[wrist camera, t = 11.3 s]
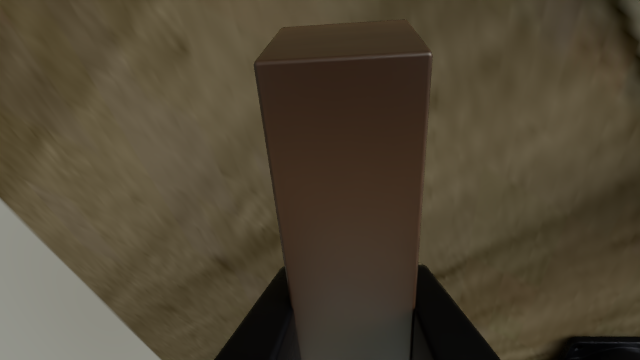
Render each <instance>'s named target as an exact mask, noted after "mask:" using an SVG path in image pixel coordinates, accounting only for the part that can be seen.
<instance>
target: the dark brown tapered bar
mask: <svg viewBox="0 0 640 360" xmlns="http://www.w3.org/2000/svg"><path fill="white" fill-rule="evenodd" d="M432 57H433V55H432V52H431V50H430V49H429V48H428V47H427V45H426V44H425V43H424V41H423V40H422V39H421V38H420V36H419V35H418V34H417V32H416V31H415V30H414V29H413V27H412V26H411V25H410V23H409V22H408V21H407V20H405V19H403V20H387V21H372V22H357V23H342V24H327V25H311V26H296V27H283V28H281V29H280V30H279V32H278V33H277V34H276V35H275V37H274V38H273V39H272V40H271V42H270V43H269V44H268V46H267V47H266V48H265V49H264V51H263V52H262V53H261V54H260V56H259V57H258V58H257V59H256V61H255V62H254V70H255V77H256V83H257V90H258V96H259V103H260V109H261V116H262V122H263V129H264V135H265V142H266V148H267V155H268V161H269V168H270V174H271V180H272V187H273V193H274V200H275V206H276V213H277V219H278V226H279V232H280V239H281V245H282V252H283V258H284V265H285V271H286V277H287V284H288V290H289V297H290V303H291V307H292V308H293V310H294V317H295V324H296V331H297V337H298V344H299V351H300V358H301V360H411V352H412V337H413V323H414V309H415V301H416V286H417V272H418V258H419V243H420V229H421V215H422V200H423V186H424V172H425V157H426V143H427V129H428V114H429V100H430V86H431V71H432Z"/></svg>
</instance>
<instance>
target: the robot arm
mask: <svg viewBox="0 0 640 360" xmlns="http://www.w3.org/2000/svg"><path fill="white" fill-rule="evenodd" d="M214 360H301V358H300V351H299V344H298V337H297V331H296V324H295V317H294V310H293V308H292V307H291V303H290V297H289V290H288V284H287V277H286V271H285V266H284V267H282V268H281V269H280V270H279V272H278V273H277V274H276V276H275V277H274V279H273V280H272V281H271V283H270V284H269V285H268V287H267V288H266V290H265V291H264V292H263V294H262V295H261V296H260V298H259V299H258V300H257V302H256V303H255V305H254V306H253V307H252V309H251V310H250V311H249V313H248V314H247V316H246V317H245V318H244V320H243V321H242V322H241V324H240V325H239V326H238V328H237V329H236V331H235V332H234V333H233V335H232V336H231V337H230V339H229V340H228V342H227V343H226V344H225V346H224V347H223V348H222V350H221V351H220V352H219V354H218V355H217V357H216V358H215V359H214ZM411 360H500V358H499V357H498V356H497V354H496V353H495V352H494V351H493V349H492V348H491V347H490V346H489V344H488V343H487V342H486V341H485V339H484V338H483V337H482V336H481V334H480V333H479V332H478V331H477V329H476V328H475V327H474V326H473V324H472V323H471V322H470V321H469V319H468V318H467V317H466V316H465V314H464V313H463V312H462V310H461V309H460V308H459V307H458V305H457V304H456V303H455V302H454V300H453V299H452V298H451V297H450V295H449V294H448V293H447V292H446V290H445V289H444V288H443V287H442V285H441V284H440V283H439V282H438V280H437V279H436V278H435V277H434V275H433V274H432V273H431V272H430V270H429V269H428V268H427V267H426V266H425V265H418V272H417V286H416V301H415V309H414V323H413V337H412V352H411ZM559 360H640V337H573V338H571V339H569V340H568V341H567V343H566V345H565V347H564V350H563V352H562V354H561V356H560V358H559Z"/></svg>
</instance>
